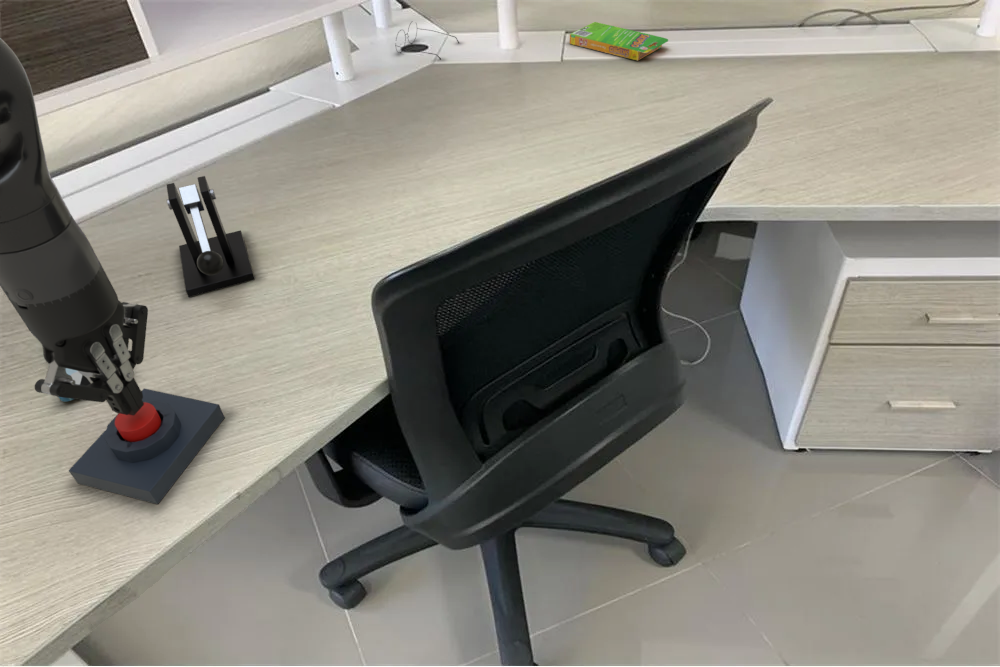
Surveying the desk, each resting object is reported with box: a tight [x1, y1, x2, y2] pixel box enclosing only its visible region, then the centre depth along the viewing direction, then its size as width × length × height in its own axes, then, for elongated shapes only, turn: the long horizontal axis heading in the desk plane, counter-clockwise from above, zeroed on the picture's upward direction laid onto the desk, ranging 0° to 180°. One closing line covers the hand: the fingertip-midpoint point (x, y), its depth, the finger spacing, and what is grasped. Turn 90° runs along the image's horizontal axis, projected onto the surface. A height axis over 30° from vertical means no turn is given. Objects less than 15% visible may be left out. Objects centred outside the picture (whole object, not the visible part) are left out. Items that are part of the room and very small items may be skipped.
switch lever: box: [178, 183, 223, 275], centre depth 93 cm, size 13×3×3 cm
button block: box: [68, 388, 225, 505], centre depth 75 cm, size 12×10×4 cm
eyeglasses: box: [394, 22, 460, 61], centre depth 161 cm, size 11×13×5 cm
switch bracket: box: [166, 175, 256, 298], centre depth 97 cm, size 12×9×13 cm
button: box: [115, 402, 161, 442], centre depth 73 cm, size 4×4×2 cm
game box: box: [569, 21, 669, 62], centre depth 157 cm, size 3×10×20 cm
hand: (131, 409), depth 72 cm, fingers closed
